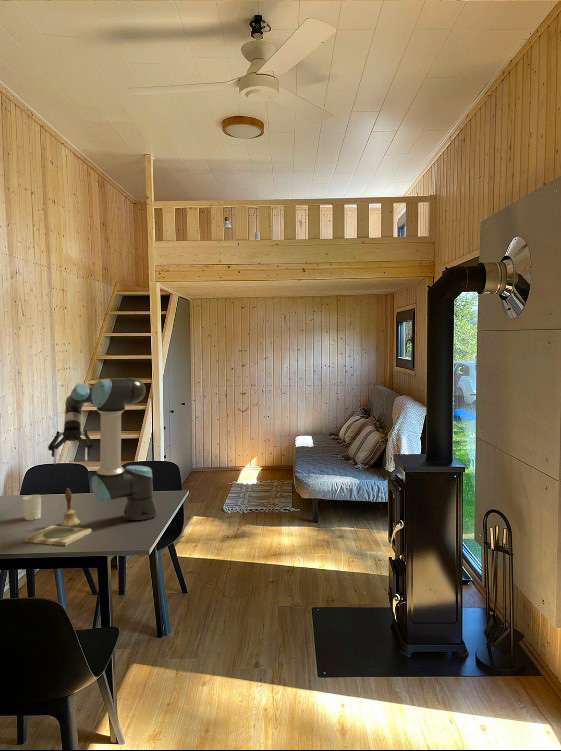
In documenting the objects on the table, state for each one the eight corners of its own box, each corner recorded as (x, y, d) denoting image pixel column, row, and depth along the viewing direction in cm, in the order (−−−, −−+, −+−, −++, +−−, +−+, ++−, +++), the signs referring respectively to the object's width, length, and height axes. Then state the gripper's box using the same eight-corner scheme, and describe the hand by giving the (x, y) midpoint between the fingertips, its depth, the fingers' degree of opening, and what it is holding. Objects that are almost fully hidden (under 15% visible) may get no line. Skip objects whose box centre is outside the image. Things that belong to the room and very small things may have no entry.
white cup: (34, 521, 247) (33, 499, 247) (19, 520, 249) (18, 499, 248) (45, 515, 255) (44, 494, 254) (30, 515, 256) (29, 494, 256)
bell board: (91, 532, 230) (91, 528, 229) (66, 545, 214) (66, 541, 214) (52, 528, 235) (52, 525, 235) (24, 541, 220) (24, 537, 220)
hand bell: (61, 527, 237) (59, 491, 236) (59, 522, 244) (57, 487, 243) (81, 524, 240) (79, 489, 240) (78, 519, 248) (77, 485, 247)
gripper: (99, 426, 271) (99, 464, 258) (45, 429, 264) (42, 467, 251) (99, 418, 265) (98, 455, 252) (44, 420, 258) (40, 459, 245)
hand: (70, 461), depth 251 cm, fingers open, 13 cm apart
